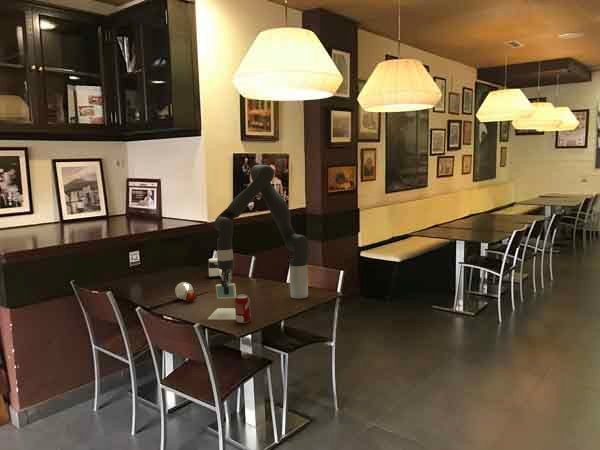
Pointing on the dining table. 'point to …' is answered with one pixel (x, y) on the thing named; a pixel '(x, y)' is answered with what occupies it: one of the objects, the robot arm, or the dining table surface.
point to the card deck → (221, 291)
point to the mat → (223, 314)
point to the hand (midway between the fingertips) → (227, 293)
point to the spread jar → (214, 268)
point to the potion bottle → (185, 292)
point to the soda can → (242, 309)
